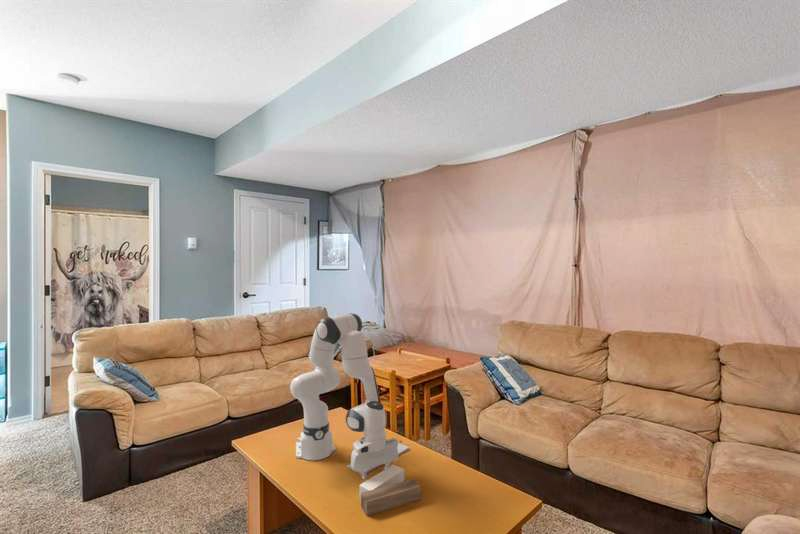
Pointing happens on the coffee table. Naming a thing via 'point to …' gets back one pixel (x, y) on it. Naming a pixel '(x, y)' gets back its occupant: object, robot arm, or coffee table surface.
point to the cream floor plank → (383, 479)
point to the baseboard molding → (400, 448)
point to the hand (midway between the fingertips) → (375, 475)
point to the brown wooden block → (390, 496)
